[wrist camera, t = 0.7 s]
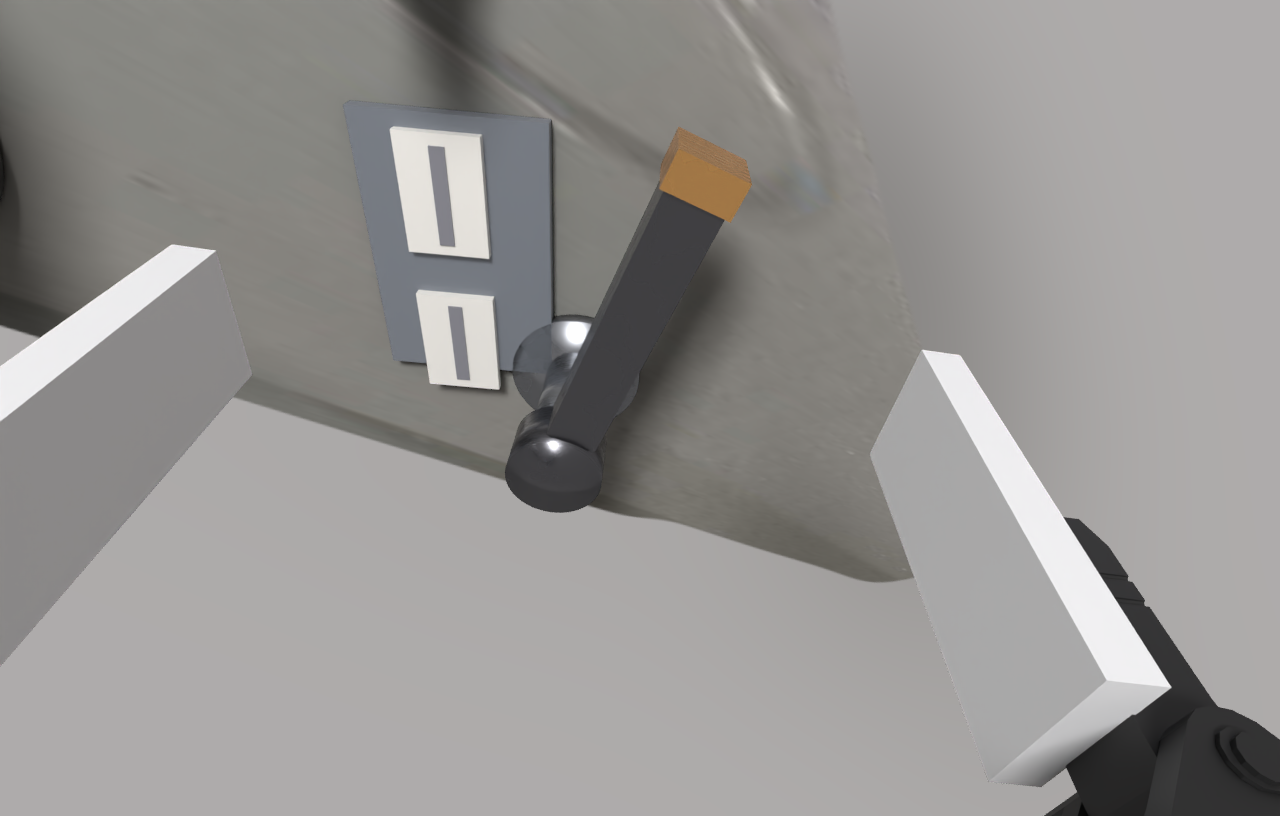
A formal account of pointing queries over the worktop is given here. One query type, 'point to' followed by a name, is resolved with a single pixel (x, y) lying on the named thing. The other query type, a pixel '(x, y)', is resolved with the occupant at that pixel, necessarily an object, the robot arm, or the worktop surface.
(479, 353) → the label board
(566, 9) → the worktop surface
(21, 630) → the robot arm
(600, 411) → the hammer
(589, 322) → the round pedestal stand
